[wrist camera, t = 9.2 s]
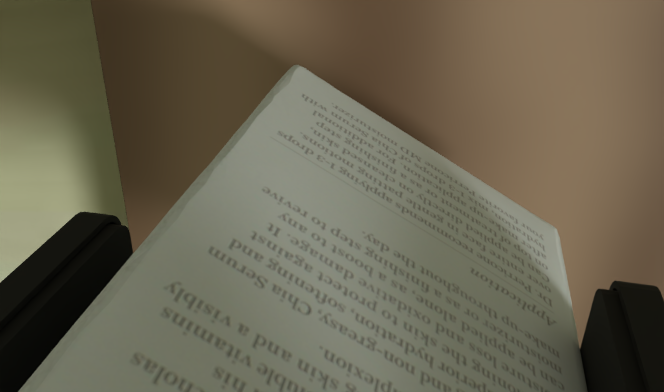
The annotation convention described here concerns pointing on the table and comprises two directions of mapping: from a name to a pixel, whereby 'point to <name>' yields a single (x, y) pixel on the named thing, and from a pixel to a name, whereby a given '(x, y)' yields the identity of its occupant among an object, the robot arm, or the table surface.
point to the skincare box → (330, 272)
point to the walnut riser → (418, 103)
